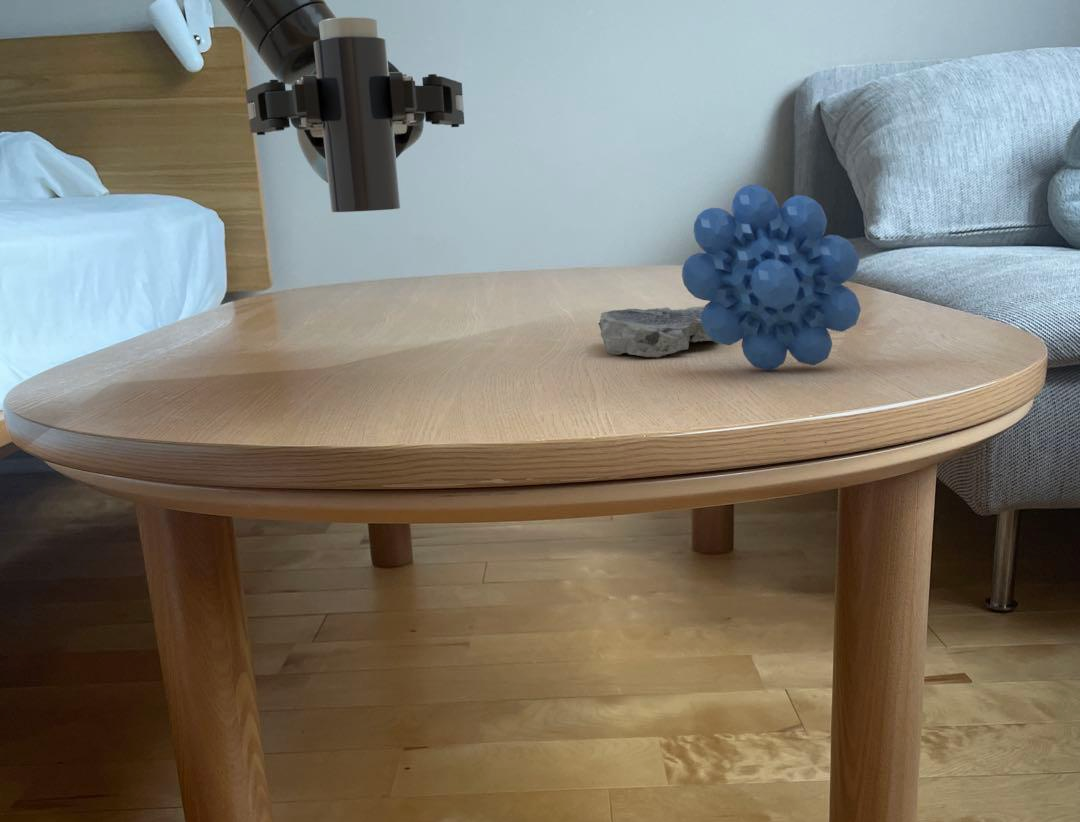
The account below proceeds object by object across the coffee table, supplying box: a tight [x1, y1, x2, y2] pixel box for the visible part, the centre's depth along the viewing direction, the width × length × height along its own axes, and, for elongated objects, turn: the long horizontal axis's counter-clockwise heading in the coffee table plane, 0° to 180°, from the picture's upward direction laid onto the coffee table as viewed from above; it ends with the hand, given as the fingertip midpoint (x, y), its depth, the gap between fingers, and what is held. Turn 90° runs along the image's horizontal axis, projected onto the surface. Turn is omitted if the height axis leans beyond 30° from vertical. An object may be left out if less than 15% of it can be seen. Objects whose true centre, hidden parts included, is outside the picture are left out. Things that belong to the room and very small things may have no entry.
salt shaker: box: [313, 16, 401, 213], centre depth 60 cm, size 4×4×10 cm
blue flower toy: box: [681, 184, 862, 371], centre depth 68 cm, size 12×7×12 cm, turn 82°
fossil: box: [598, 306, 714, 358], centre depth 82 cm, size 11×4×10 cm
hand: (355, 95), depth 57 cm, fingers closed on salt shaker, 4 cm apart
